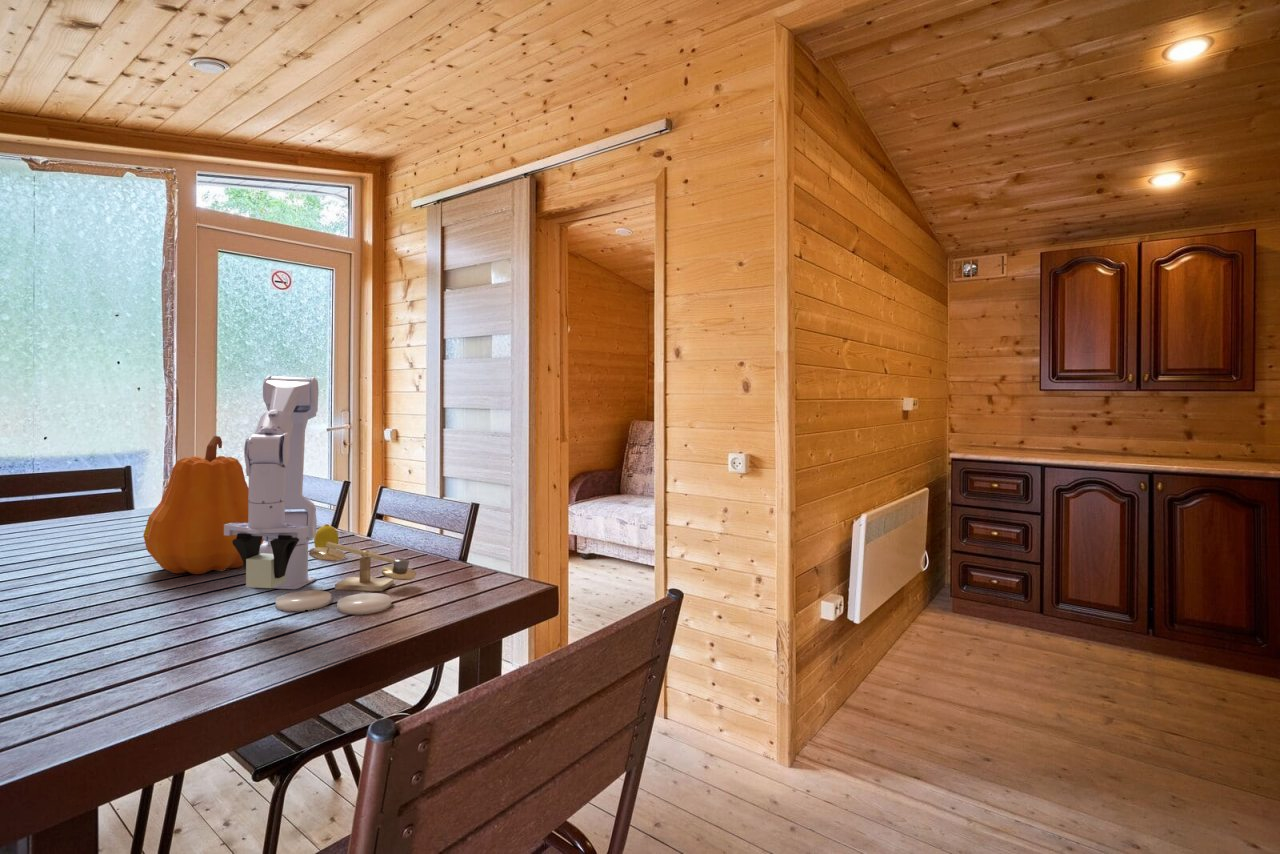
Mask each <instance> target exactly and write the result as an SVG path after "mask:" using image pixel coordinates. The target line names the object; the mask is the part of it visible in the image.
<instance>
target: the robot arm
mask: <svg viewBox="0 0 1280 854" xmlns="http://www.w3.org/2000/svg"><path fill="white" fill-rule="evenodd" d="M262 399H263V402H264V404H265V408H266V410H267V411H266V412H264V413H263V414H262V415H261V416H260V417H259V420H258V423H257V426H256V429H255V431H254V433H253V434H252V435H251V436H250V437H246V439H245V442H244V448H243V449H244V450H243V456H244V462H245V474H246V475H245V476H246V477H248V488H249V493H248V523H229V524H225V525H224V535H226V536H230V535H237V537H236V539H234V540H232V543H233V545H234V546H235V548H236V549H237V551H238V552H239V554H240V556H241V558H242V561H243V563H244V565H243V566H244V569H245V571H246V559H248V558H250V557H253V556H256V555H258V554H261V553H268V554H273V556H274V575H275V578H281V577H283V576H285V573H286V579H285V582H283V583H281V584H279V585H277V586H274V587H272V588H271V589H281V590H298V589H300V588H302V587H304V586H307V585H308V584H310V583H312V582H314V581H316V580H317V577H316V576H309V542H310V541H313V540H314V538H315V534H316V532H317V522H318V521H317V507H316V506H315V505H316V504H314V502H312V501H311V500H309V499H308V498H307V497H305V496H304V495H303V485H304V464H305V461H304V460H305V443H306V442H305V441H306V429H307V425H308V422H309V420H311V419H314V418H315V417H317V413H318V410H319V409H318V408H319V382H318V379H316V377H315V376H312V377H302V376H301V377H300V376H299V377H298V376H277V375H276V376H275V375H274V376H273V375H267V376H266V377H265V378H264V380H263V384H262ZM286 510H299V511H286ZM301 510H304V511H301ZM262 539H263V540H264V541H263V543H262V544H261V540H262Z"/></svg>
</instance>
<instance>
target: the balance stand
mask: <svg viewBox="0 0 1280 854" xmlns="http://www.w3.org/2000/svg"><path fill="white" fill-rule="evenodd" d="M371 561H372V558H370V557H366V556H365V557H362V556H361V557H359V576H347V577H345V578H344V579H342V580H341V581H339V582H337V583H335V584H334V589H335V590H342V591H343V590H345V591H366V592H383V591H385V590H386V589H388V588H389V587H391V586H392V585H394V583H395V581H394V580H395V579H392V578H387V577H386V578H383V577H382V578H380V577H371V565H372V564H371V563H372V562H371Z"/></svg>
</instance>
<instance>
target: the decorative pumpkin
mask: <svg viewBox="0 0 1280 854" xmlns="http://www.w3.org/2000/svg"><path fill="white" fill-rule="evenodd" d="M222 446H223V441H222V437H221V436H219V435H213V437H212V438H211V439H210V440H209V442H208V444H207V445H206V451H205V456H204V458H202V457H200V456H197V455H196V456H190V457H183V458H181V459H179V460H177V461H176V463H175V464H174V466H173V467H172V469H171V473H170V476H169V477H170V478H169V481H168V484H167V486H166V489H165V492H164V493H163V496H162V497H161V500H160V502H159V503H158V505H157V506H156V508H154V510H153V511H152V512H151V513H150V514H149V516H148V519H147V522H146V525H145V530H144V532H143V540H144V544H145V547H146V548H145V549H146V551H147V552H148V553H149V555H150V556H151V557H152V558H153V559H154V560H155V562H156V563H157V564H158V565H160V567H161V568H163V569H164V570H166V571H169V572H171V573H173V574H186V573H185V572H187V573H189V574H192V575H203V574H205V573H208V572H211V571H213V570H214V571H216V570H217V572H224V571H226V569H236V568H237V569H238V568H240V567H242V566H244V563H243V561H242V558H241V556H240V554H239V552H238V551H237V549H236V548H235V546H234V545H233V543H232V540H234V539H236V537H237V535H230V536H226V535H224V525H225V524H229V523H248V493H249V485H248V483H247V482H246V478H245V472H244V469H243V466H242V465H241V463H240V461H239V460H238V459H237V458H235V457H232V456H227V457H226V456H223V455H218V456H217V452H218V451H217V449H222V448H223V447H222ZM264 542H265V541H264V540H263V539H262V540H261V544H262V543H264Z"/></svg>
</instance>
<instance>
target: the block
mask: <svg viewBox="0 0 1280 854" xmlns="http://www.w3.org/2000/svg"><path fill="white" fill-rule="evenodd" d="M285 579H286V573H285V576H283V577H281V578H275V575H274V556H273V554H268V553H261V554H258V555H256V556H253V557H250V558H248V559H246V570H245V588H254V589H255V588H256V589H257V588H260V589H273V588H272V587H274V586H277V585H279V584H281V583H283V582H285Z"/></svg>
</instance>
